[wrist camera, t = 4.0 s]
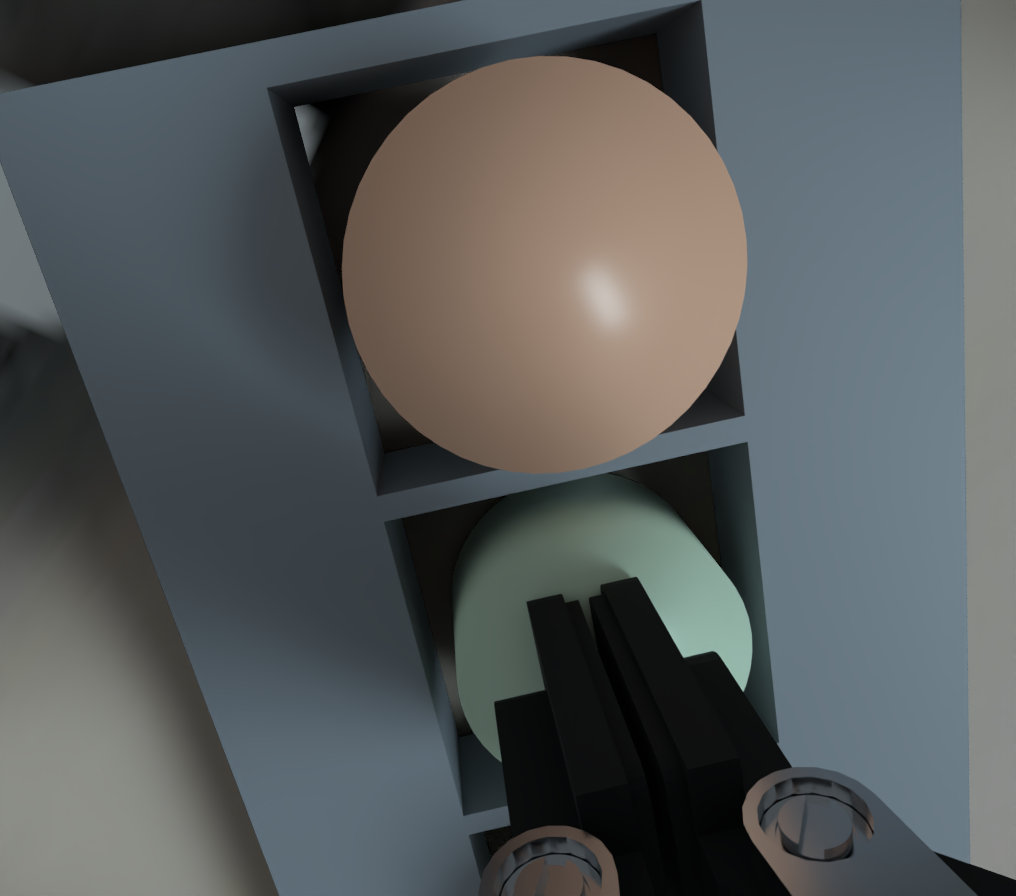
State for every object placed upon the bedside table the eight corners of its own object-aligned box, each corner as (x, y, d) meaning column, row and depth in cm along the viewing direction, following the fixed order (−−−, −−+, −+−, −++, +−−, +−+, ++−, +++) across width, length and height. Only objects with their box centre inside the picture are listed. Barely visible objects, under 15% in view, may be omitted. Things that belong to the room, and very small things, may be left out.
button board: (871, -49, 11) (959, -100, 10) (910, 882, 17) (970, 967, 15) (54, 116, 11) (-25, 98, 9) (370, 1012, 17) (363, 1116, 15)
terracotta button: (658, 57, 10) (725, 16, 8) (698, 383, 11) (765, 428, 9) (322, 125, 10) (290, 104, 8) (403, 448, 11) (397, 509, 9)
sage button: (683, 446, 13) (736, 498, 11) (712, 667, 14) (765, 754, 12) (426, 503, 13) (426, 567, 11) (480, 720, 14) (489, 818, 12)
